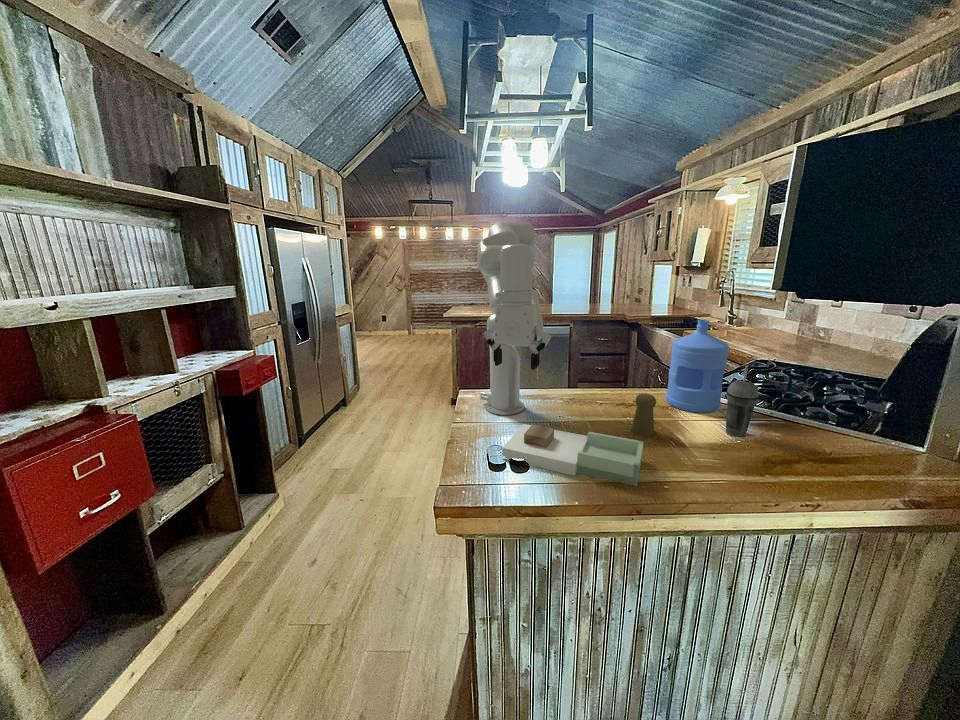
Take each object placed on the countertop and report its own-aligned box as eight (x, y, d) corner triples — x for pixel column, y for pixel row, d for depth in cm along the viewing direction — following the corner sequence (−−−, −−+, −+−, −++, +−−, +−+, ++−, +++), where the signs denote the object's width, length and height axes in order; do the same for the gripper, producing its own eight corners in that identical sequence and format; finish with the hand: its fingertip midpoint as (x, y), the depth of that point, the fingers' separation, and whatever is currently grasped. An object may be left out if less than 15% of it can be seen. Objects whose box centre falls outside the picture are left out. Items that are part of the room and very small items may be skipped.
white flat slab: (502, 458, 94) (502, 447, 93) (523, 433, 107) (523, 423, 106) (575, 475, 86) (575, 464, 85) (588, 446, 99) (589, 436, 98)
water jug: (657, 396, 133) (666, 316, 125) (703, 395, 132) (714, 316, 125) (678, 414, 118) (690, 325, 110) (730, 413, 117) (745, 324, 110)
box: (576, 472, 87) (577, 453, 86) (587, 449, 97) (588, 431, 96) (637, 486, 81) (639, 466, 80) (641, 460, 92) (643, 441, 90)
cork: (629, 434, 105) (633, 397, 102) (632, 425, 110) (635, 390, 107) (653, 438, 102) (657, 400, 100) (655, 429, 108) (659, 393, 105)
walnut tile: (523, 443, 95) (524, 433, 94) (531, 433, 100) (531, 424, 100) (547, 447, 92) (547, 438, 92) (553, 437, 98) (554, 428, 97)
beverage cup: (753, 433, 104) (767, 363, 99) (748, 442, 99) (762, 369, 94) (723, 425, 109) (734, 358, 104) (717, 434, 104) (728, 364, 99)
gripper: (477, 298, 92) (478, 366, 96) (546, 300, 84) (544, 374, 88) (490, 296, 98) (491, 360, 102) (555, 297, 90) (553, 366, 95)
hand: (515, 366), depth 95 cm, fingers open, 9 cm apart
